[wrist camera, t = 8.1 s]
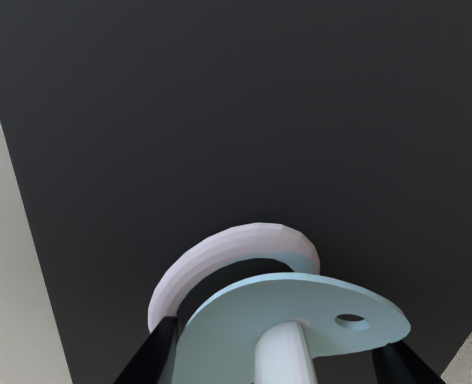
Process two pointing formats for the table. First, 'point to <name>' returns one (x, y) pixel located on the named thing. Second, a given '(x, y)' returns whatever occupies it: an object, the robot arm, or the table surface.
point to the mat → (242, 156)
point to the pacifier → (268, 312)
